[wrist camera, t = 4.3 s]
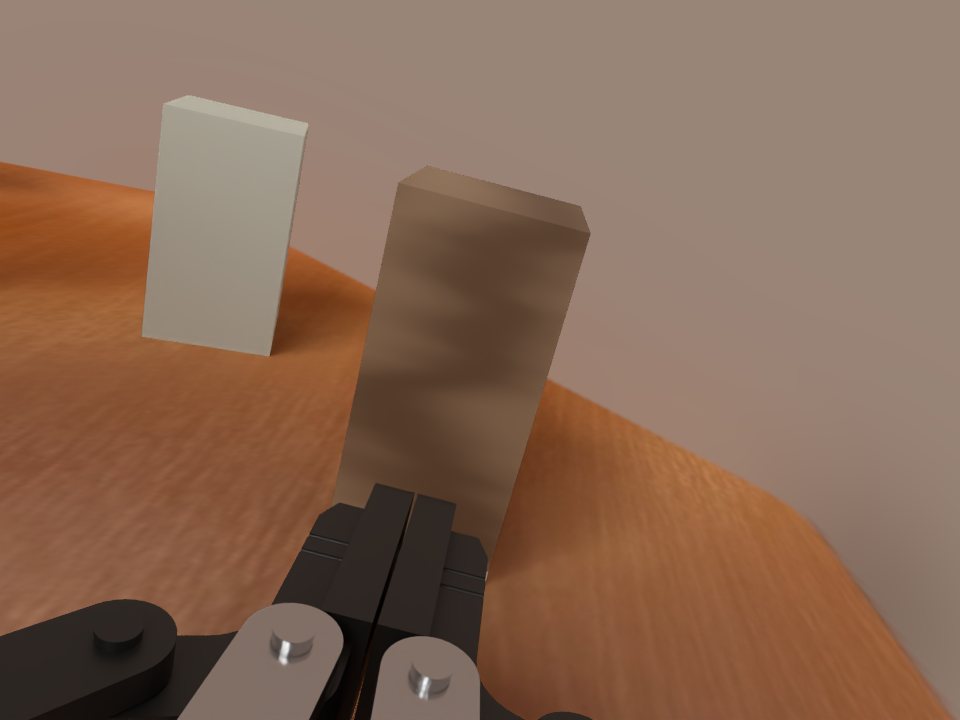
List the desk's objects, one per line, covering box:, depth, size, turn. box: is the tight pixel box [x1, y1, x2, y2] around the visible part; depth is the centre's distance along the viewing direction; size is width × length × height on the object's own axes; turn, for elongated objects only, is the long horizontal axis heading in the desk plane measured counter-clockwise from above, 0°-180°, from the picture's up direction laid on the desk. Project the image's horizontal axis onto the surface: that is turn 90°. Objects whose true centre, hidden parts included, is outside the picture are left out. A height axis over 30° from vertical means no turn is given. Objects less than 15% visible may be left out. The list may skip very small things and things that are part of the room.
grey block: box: [141, 95, 309, 356], centre depth 34 cm, size 6×6×10 cm
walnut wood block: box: [331, 166, 590, 581], centre depth 23 cm, size 5×5×11 cm
